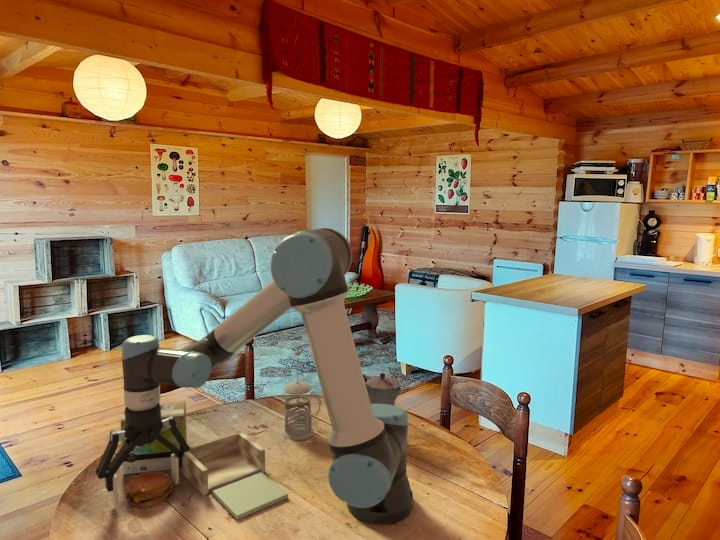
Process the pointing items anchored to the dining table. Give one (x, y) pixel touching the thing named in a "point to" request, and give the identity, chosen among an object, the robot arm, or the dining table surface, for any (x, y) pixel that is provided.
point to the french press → (302, 424)
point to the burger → (149, 489)
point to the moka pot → (382, 389)
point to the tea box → (156, 443)
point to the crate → (222, 460)
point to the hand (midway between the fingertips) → (146, 491)
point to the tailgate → (248, 493)
